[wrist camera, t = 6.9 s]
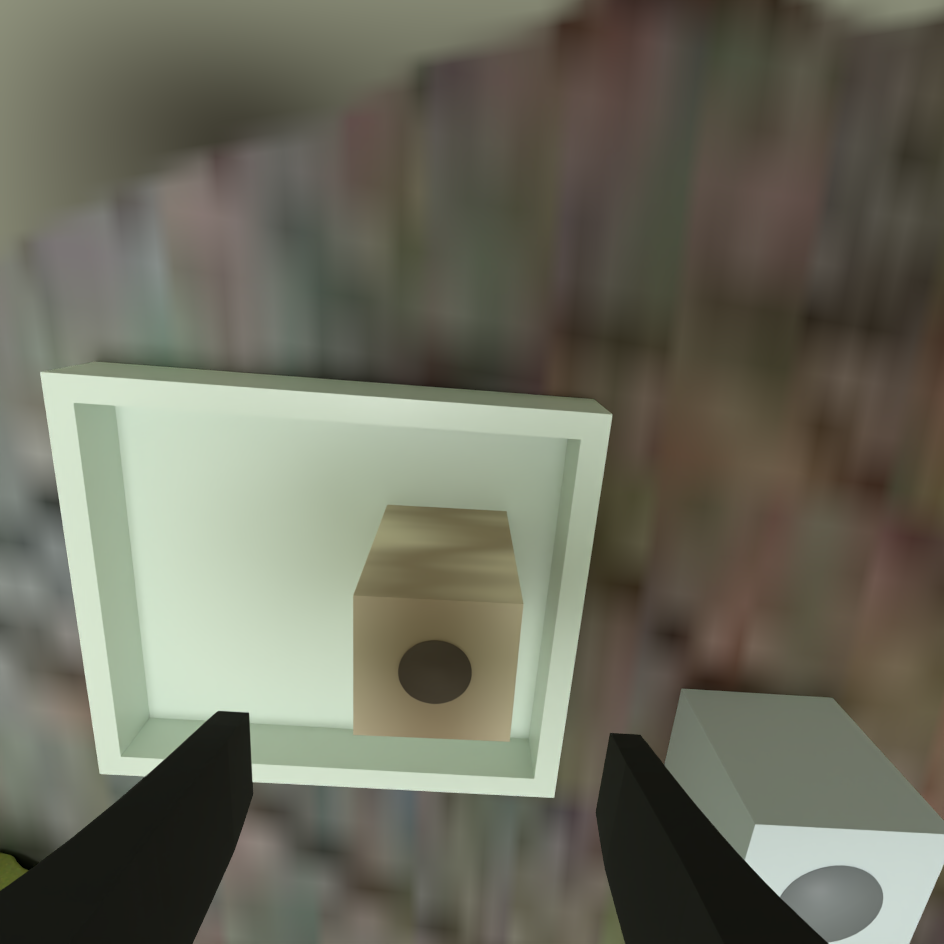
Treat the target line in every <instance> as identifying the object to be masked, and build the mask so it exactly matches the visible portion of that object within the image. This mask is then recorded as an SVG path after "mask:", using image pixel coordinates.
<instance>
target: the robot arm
mask: <svg viewBox="0 0 944 944" xmlns="http://www.w3.org/2000/svg"><path fill="white" fill-rule="evenodd" d="M252 796H253V782H252V761H251V740H250V720H249V713H248V712H231V711H217V712H216V713H215V714H214V715H212V716H211V717H210V718H209V719H208V720H207V721H206V722H205V723H203V724H202V725H201V726H200V727H199V728H198V729H197V730H196V731H195V732H194V733H193V734H192V735H190V736H189V737H188V738H187V739H186V740H185V741H184V742H183V743H182V744H181V745H180V746H179V747H177V748H176V749H175V750H174V751H173V752H172V753H171V754H170V755H169V756H168V757H166V758H165V759H164V760H163V761H162V762H161V763H160V764H159V765H158V766H157V767H155V768H154V769H153V770H152V771H151V772H150V773H149V774H147V775H146V776H145V777H144V778H143V779H142V780H141V781H139V782H138V783H137V784H136V785H135V786H134V787H133V788H131V789H130V790H129V791H128V792H127V793H126V794H125V795H123V796H122V797H121V798H120V799H119V800H118V801H116V802H115V803H114V804H113V805H112V806H110V807H109V808H108V809H107V810H106V811H104V812H103V813H102V814H101V815H99V816H98V817H97V818H96V819H94V820H93V821H92V822H91V823H90V824H88V825H87V826H86V827H85V828H83V829H82V830H81V831H80V832H78V833H77V834H76V835H75V836H74V837H72V838H71V839H70V840H69V841H67V842H66V843H65V844H63V845H62V846H61V847H59V848H58V849H57V850H56V851H54V852H53V853H52V854H50V855H49V856H48V857H46V858H45V859H44V860H42V861H41V862H40V863H38V864H37V865H36V866H34V867H33V868H32V869H30V870H29V871H27V872H26V873H24V874H23V875H22V876H20V877H19V878H17V879H16V880H15V881H13V882H12V883H10V884H9V885H8V886H6V887H5V888H3V889H2V890H1V891H0V944H193V941H194V939H195V937H196V935H197V933H198V930H199V928H200V926H201V924H202V922H203V920H204V917H205V915H206V913H207V911H208V909H209V906H210V904H211V902H212V900H213V898H214V895H215V893H216V891H217V889H218V886H219V884H220V882H221V880H222V877H223V875H224V873H225V871H226V869H227V866H228V864H229V862H230V860H231V857H232V855H233V853H234V850H235V847H236V845H237V842H238V839H239V836H240V833H241V830H242V827H243V824H244V821H245V818H246V815H247V812H248V808H249V805H250V802H251V799H252ZM596 817H597V824H598V830H599V837H600V843H601V849H602V854H603V860H604V866H605V871H606V874H607V878H608V882H609V886H610V890H611V893H612V897H613V901H614V904H615V908H616V912H617V915H618V919H619V923H620V926H621V930H622V933H623V937H624V941H625V944H829V943H828V942H827V941H825V940H824V939H823V938H822V937H821V936H820V935H819V934H818V933H817V932H816V931H815V930H814V929H813V928H811V927H810V926H809V925H808V924H807V923H806V922H805V921H804V920H803V919H802V918H801V917H800V916H799V915H798V914H797V913H796V912H795V911H794V910H793V909H792V908H791V907H790V906H789V905H787V904H786V903H785V902H784V901H783V900H782V899H781V898H780V897H779V896H778V895H777V894H776V893H775V892H774V891H773V890H772V889H771V888H770V887H769V886H768V885H767V884H766V883H765V882H764V881H763V880H762V878H761V877H760V876H759V875H758V874H757V873H756V872H755V871H754V870H753V869H752V868H751V867H750V866H749V865H748V863H747V862H746V861H745V860H744V859H743V858H742V857H741V856H740V855H739V854H738V853H737V852H736V850H735V849H734V848H733V847H732V846H731V845H730V844H729V843H728V841H727V840H726V839H725V838H724V837H723V836H722V835H721V833H720V832H719V831H718V830H717V829H716V828H715V826H714V825H713V824H712V823H711V822H710V821H709V819H708V818H707V817H706V816H705V815H704V813H703V812H702V811H701V810H700V809H699V808H698V806H697V805H696V804H695V803H694V802H693V800H692V799H691V798H690V797H689V795H688V794H687V793H686V792H685V790H684V789H683V788H682V787H681V785H680V784H679V783H678V782H677V780H676V779H675V778H674V777H673V775H672V774H671V773H670V772H669V770H668V769H667V768H666V767H665V765H664V764H663V763H662V762H661V760H660V759H659V758H658V756H657V755H656V754H655V753H654V751H653V750H652V749H651V748H650V746H649V745H648V744H647V743H646V741H645V740H644V739H643V738H642V736H641V735H634V734H617V733H610V737H609V742H608V748H607V753H606V759H605V764H604V770H603V775H602V781H601V786H600V791H599V797H598V802H597V808H596Z"/></svg>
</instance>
